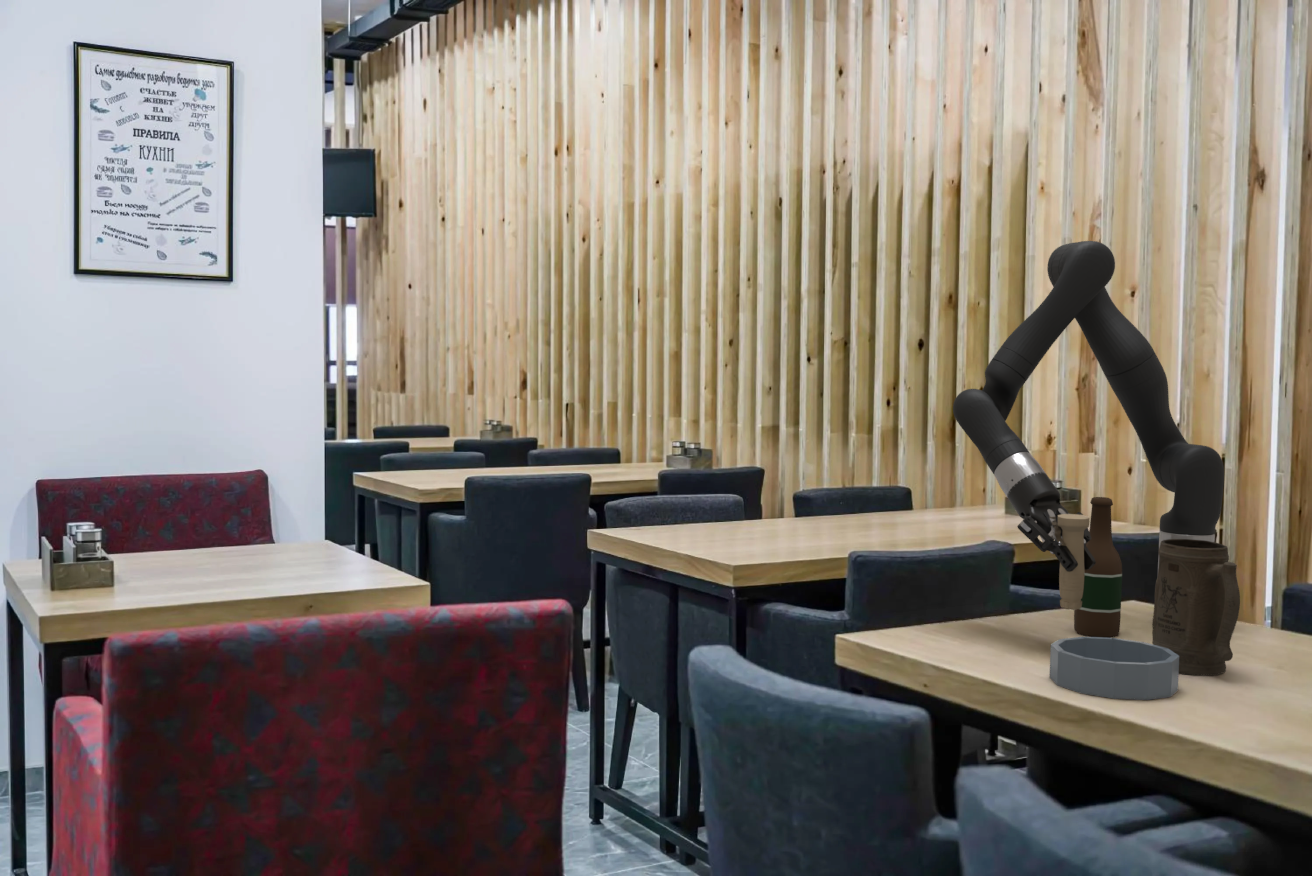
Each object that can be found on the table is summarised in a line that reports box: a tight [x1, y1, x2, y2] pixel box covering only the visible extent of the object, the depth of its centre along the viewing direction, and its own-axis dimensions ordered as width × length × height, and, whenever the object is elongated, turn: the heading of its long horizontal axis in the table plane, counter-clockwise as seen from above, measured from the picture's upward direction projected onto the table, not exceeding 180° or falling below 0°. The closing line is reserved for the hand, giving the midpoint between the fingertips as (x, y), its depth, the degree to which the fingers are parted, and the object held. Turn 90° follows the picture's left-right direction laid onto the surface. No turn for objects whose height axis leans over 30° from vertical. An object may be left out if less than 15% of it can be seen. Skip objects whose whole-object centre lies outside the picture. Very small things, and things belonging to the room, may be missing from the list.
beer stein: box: [1151, 539, 1241, 676], centre depth 183 cm, size 15×11×20 cm
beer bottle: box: [1073, 496, 1123, 638], centre depth 208 cm, size 8×8×24 cm
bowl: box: [1049, 636, 1180, 701], centre depth 174 cm, size 17×17×5 cm
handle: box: [1058, 513, 1091, 611], centre depth 193 cm, size 5×6×15 cm
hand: (1082, 567), depth 191 cm, fingers closed on handle, 3 cm apart
